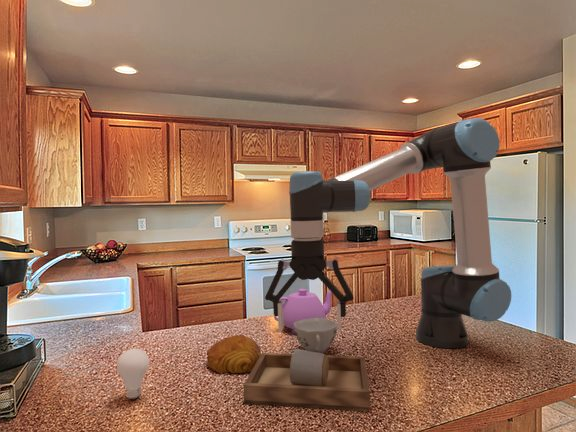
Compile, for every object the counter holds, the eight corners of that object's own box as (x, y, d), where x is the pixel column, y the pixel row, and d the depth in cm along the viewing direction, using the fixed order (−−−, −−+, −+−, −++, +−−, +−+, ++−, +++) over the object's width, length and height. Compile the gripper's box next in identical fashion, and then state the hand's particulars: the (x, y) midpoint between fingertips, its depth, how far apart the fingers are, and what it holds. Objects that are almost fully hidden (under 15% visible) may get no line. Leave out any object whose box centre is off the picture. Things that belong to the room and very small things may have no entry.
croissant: (257, 359, 112) (257, 330, 113) (264, 373, 97) (263, 341, 98) (206, 362, 110) (206, 333, 110) (205, 377, 94) (206, 344, 95)
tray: (364, 372, 97) (364, 357, 96) (369, 411, 78) (369, 392, 78) (262, 368, 100) (261, 352, 100) (243, 403, 82) (243, 385, 82)
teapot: (330, 320, 142) (329, 283, 142) (343, 333, 127) (343, 292, 127) (271, 324, 138) (270, 286, 138) (277, 338, 123) (277, 295, 123)
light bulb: (123, 392, 88) (122, 344, 88) (153, 390, 89) (152, 343, 88) (112, 407, 81) (111, 355, 81) (144, 405, 82) (143, 354, 82)
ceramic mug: (325, 393, 84) (325, 358, 84) (289, 389, 86) (288, 355, 86) (331, 373, 95) (331, 342, 95) (298, 370, 97) (298, 340, 97)
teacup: (293, 343, 119) (293, 317, 118) (334, 342, 119) (333, 316, 119) (295, 362, 104) (295, 333, 103) (341, 362, 104) (341, 332, 104)
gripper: (361, 236, 91) (363, 325, 91) (258, 238, 94) (260, 324, 95) (363, 239, 83) (365, 336, 84) (250, 241, 87) (253, 334, 87)
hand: (310, 330), depth 89 cm, fingers open, 13 cm apart
